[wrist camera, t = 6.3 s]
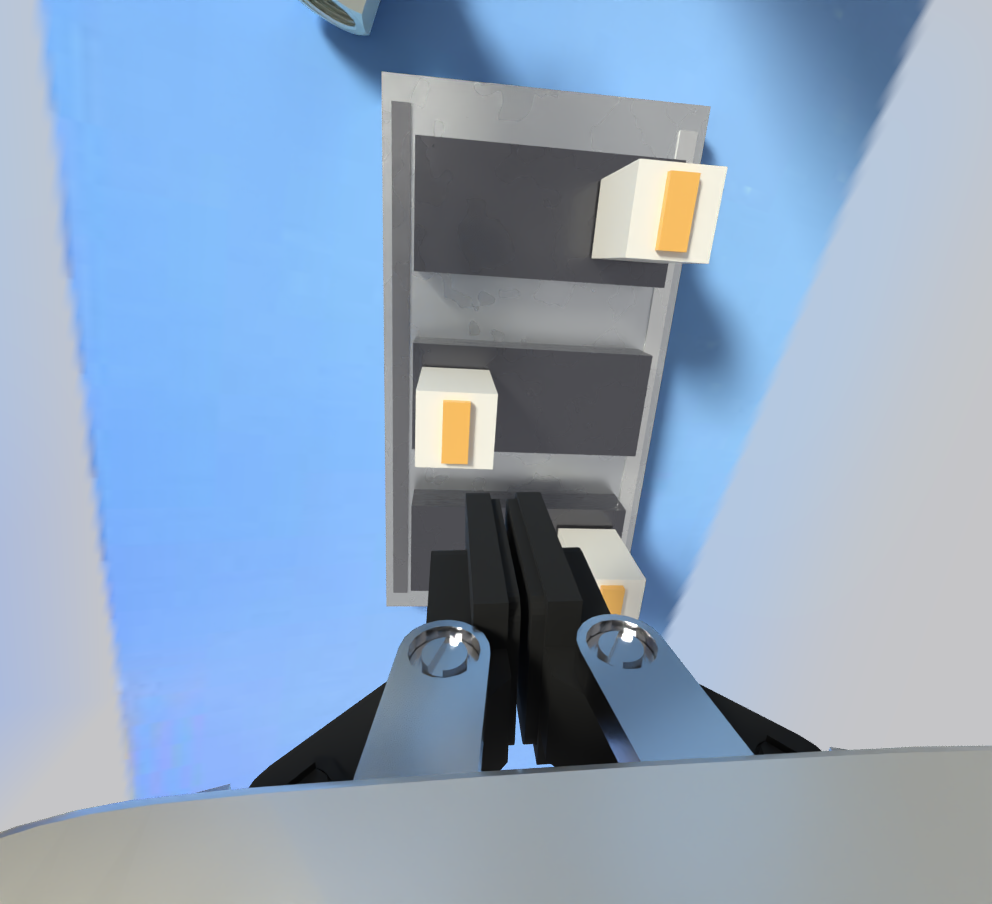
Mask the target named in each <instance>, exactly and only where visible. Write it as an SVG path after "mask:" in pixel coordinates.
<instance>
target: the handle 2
mask: <svg viewBox="0 0 992 904" xmlns="http://www.w3.org/2000/svg"><path fill="white" fill-rule="evenodd" d="M726 172H727V167H724V166H713V165H703V164H692V163H682V162H671V161H660V160H650V159H638V160H636V161H634V162H632V163H630V164H629V165H627V166H625V167H623V168H621V169H619V170H618V171H616V172H614V173H612V174H610V175H608V176H607V177H605V178H603V179H601V185H600V193H599V201H598V209H597V217H596V226H595V234H594V242H593V250H592V258H593V259H607V260H620V261H634V262H648V263H681V264H709V258H710V253H711V248H712V243H713V238H714V233H715V228H716V223H717V218H718V213H719V208H720V203H721V198H722V192H723V187H724V182H725V177H726Z"/></svg>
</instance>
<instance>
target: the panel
mask: <svg viewBox="0 0 992 904" xmlns="http://www.w3.org/2000/svg"><path fill="white" fill-rule="evenodd" d="M709 113H710V106H701V105H691V104H682V103H673V102H663V101H654V100H645V99H635V98H626V97H616V96H607V95H598V94H588V93H579V92H570V91H560V90H551V89H542V88H532V87H523V86H513V85H504V84H495V83H485V82H476V81H467V80H457V79H448V78H439V77H429V76H420V75H410V74H401V73H392V72H382V176H383V281H384V386H385V492H386V597H387V606H428V591H429V576H430V561H431V551H438V550H465V495H466V493H490V496H491V499H500V504H501V509H502V514H503V518H504V523H505V511H506V499H515V493H516V492H540V493H541V495H542V498H543V500H544V503H545V505H546V508H547V510H548V513H549V515H550V518H551V520H552V523H553V526H554V528H555V531H556V533H557V536H558V528H568V529H615V530H616V532H617V533H618V535H619V536H620V538H621V540H622V541H623V543H624V545H625V546H626V548H627V549H628V551H629V553H630V551H631V545H632V540H633V534H634V529H635V523H636V518H637V512H638V507H639V501H640V496H641V490H642V484H643V479H644V473H645V468H646V462H647V457H648V451H649V446H650V440H651V435H652V429H653V423H654V418H655V412H656V407H657V401H658V396H659V390H660V385H661V379H662V374H663V368H664V362H665V357H666V351H667V346H668V340H669V335H670V329H671V324H672V318H673V313H674V307H675V301H676V296H677V290H678V285H679V279H680V274H681V268H682V264H681V263H648V262H634V261H620V260H607V259H593V258H592V250H593V242H594V234H595V226H596V217H597V209H598V201H599V193H600V185H601V179H603V178H605V177H607V176H608V175H610V174H612V173H614V172H616V171H618V170H619V169H621V168H623V167H625V166H627V165H629V164H630V163H632V162H634V161H636V160H638V159H650V160H660V161H671V162H682V163H692V164H700V163H701V157H702V152H703V146H704V141H705V135H706V130H707V124H708V118H709ZM422 367H437V368H458V369H478V370H489V371H490V374H491V376H492V379H493V382H494V385H495V388H496V390H497V393H498V400H497V415H496V429H495V444H494V458H493V469H464V468H430V467H415V420H416V388H417V384H418V381H419V377H420V373H421V369H422Z"/></svg>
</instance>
